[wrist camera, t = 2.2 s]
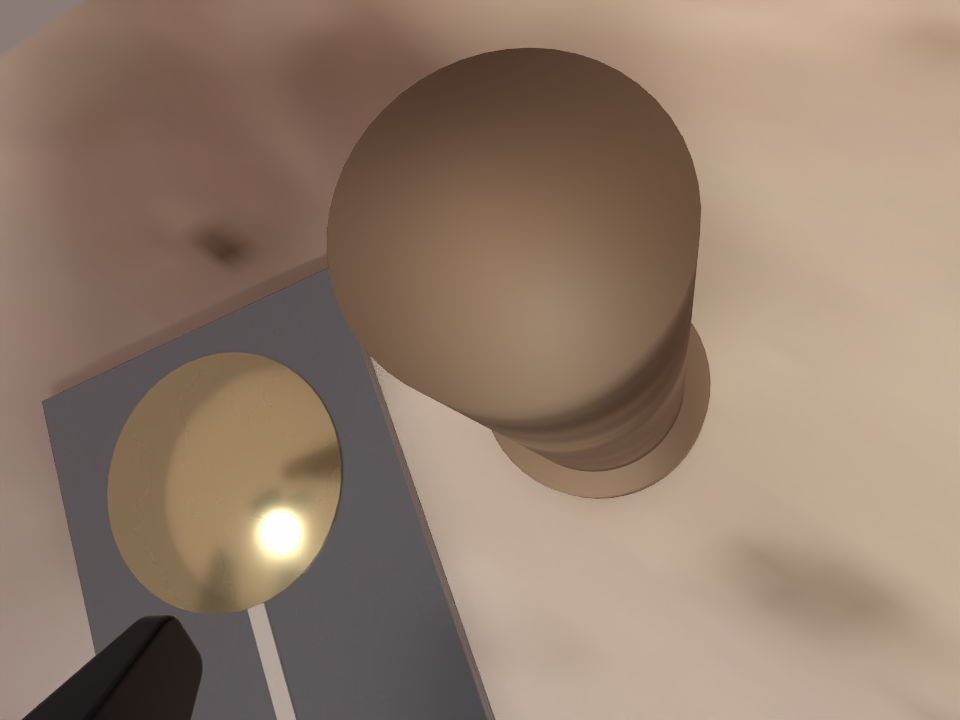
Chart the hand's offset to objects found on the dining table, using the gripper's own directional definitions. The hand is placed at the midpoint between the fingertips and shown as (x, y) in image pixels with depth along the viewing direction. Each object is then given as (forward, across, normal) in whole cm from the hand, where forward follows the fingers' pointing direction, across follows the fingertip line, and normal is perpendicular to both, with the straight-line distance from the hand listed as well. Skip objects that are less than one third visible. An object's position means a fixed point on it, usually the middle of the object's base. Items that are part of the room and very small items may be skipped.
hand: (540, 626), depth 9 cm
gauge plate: (+7, +9, +9) cm, 15 cm away
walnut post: (+11, 0, +5) cm, 12 cm away
